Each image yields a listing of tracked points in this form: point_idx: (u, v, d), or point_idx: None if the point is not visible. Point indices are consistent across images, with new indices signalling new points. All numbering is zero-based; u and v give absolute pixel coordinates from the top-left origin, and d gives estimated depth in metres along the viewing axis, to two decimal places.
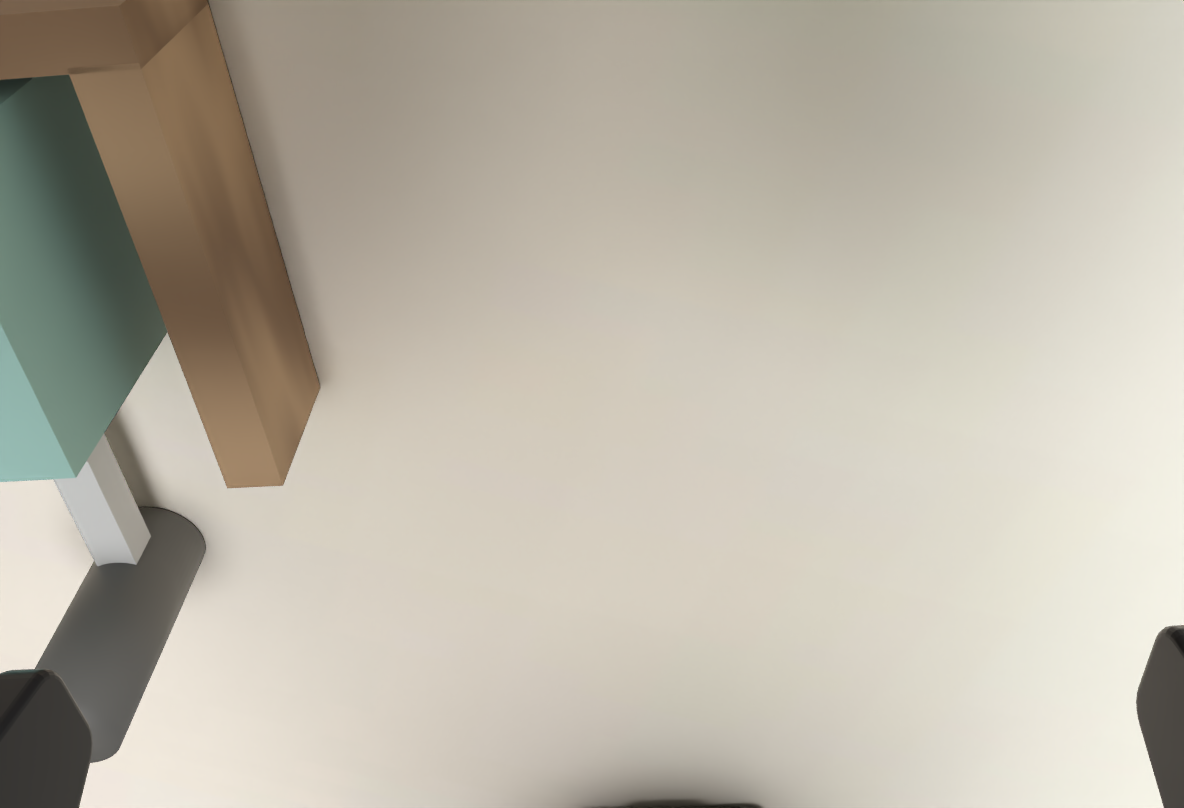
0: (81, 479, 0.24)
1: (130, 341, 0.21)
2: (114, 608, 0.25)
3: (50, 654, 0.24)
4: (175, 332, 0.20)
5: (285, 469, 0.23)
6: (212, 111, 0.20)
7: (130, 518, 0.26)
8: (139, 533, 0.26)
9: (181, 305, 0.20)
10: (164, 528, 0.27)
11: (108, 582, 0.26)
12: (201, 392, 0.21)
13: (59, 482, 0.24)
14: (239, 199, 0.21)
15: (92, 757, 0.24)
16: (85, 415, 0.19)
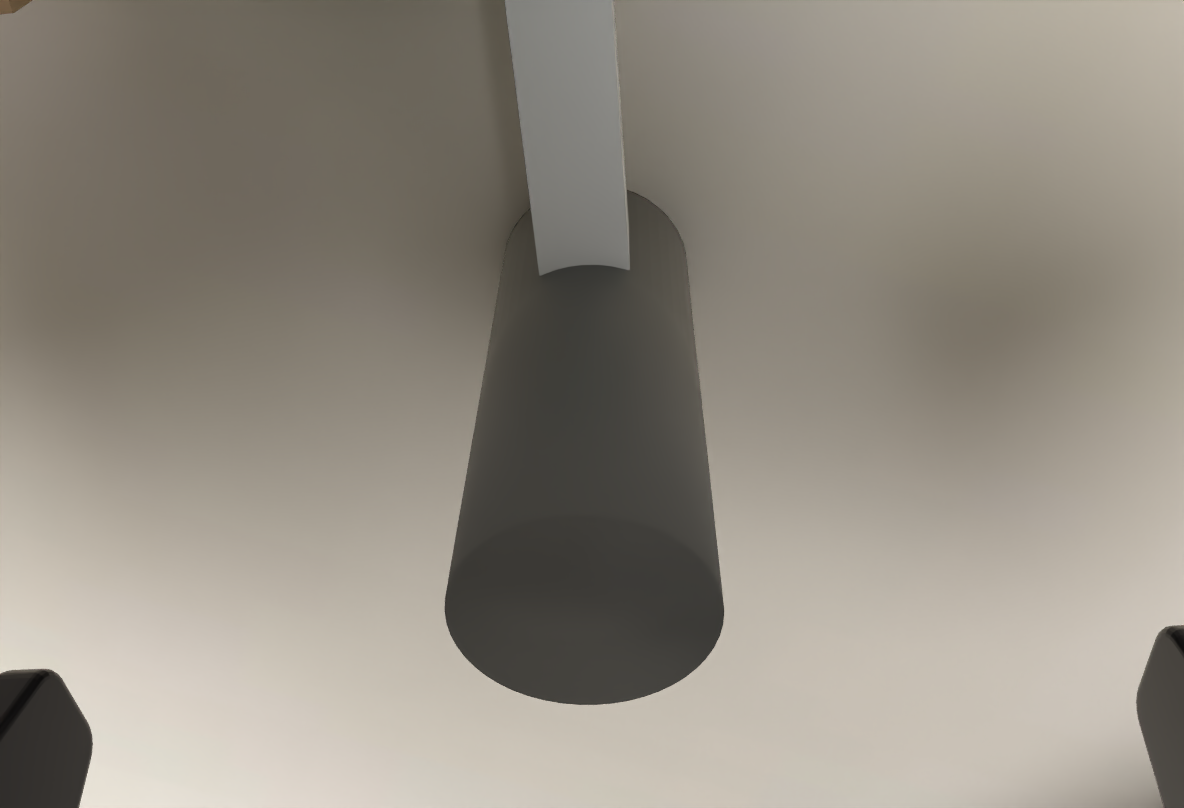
0: (577, 13, 0.10)
1: None
2: (630, 341, 0.11)
3: (525, 429, 0.10)
4: None
5: None
6: None
7: (623, 161, 0.11)
8: (626, 207, 0.12)
9: None
10: (644, 219, 0.13)
11: (590, 296, 0.11)
12: None
13: (519, 24, 0.10)
14: None
15: (620, 689, 0.10)
16: None
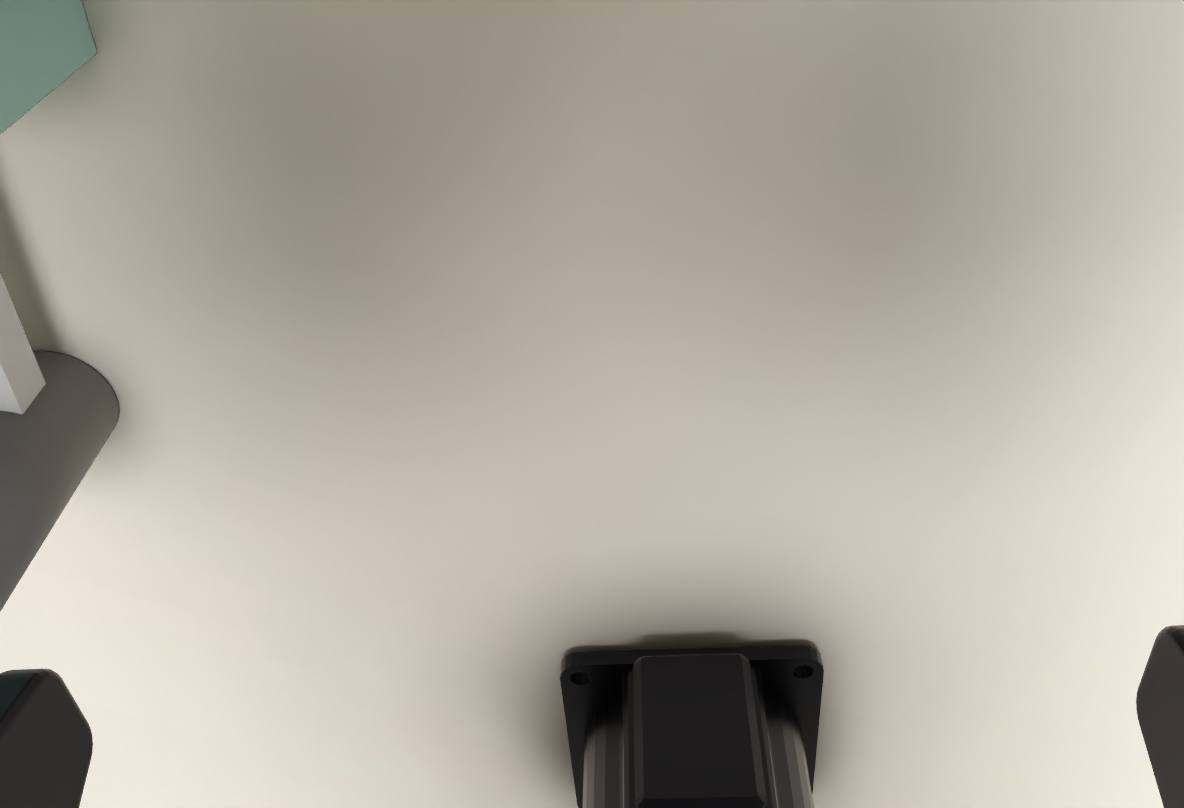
0: None
1: (9, 62, 0.15)
2: None
3: None
4: None
5: None
6: None
7: (16, 352, 0.20)
8: (29, 375, 0.20)
9: None
10: (64, 375, 0.21)
11: None
12: None
13: None
14: None
15: None
16: None
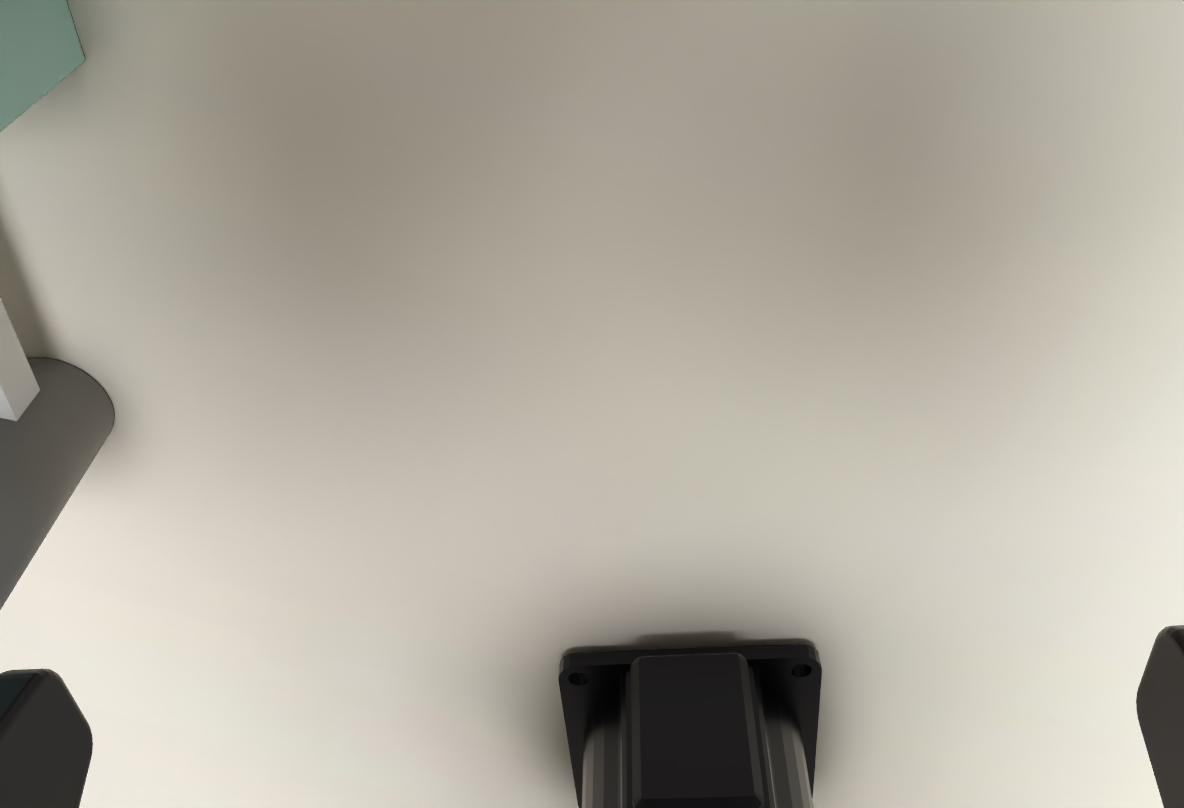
0: None
1: None
2: None
3: None
4: None
5: None
6: None
7: (10, 359, 0.20)
8: (23, 382, 0.20)
9: None
10: (59, 382, 0.21)
11: None
12: None
13: None
14: None
15: None
16: None
